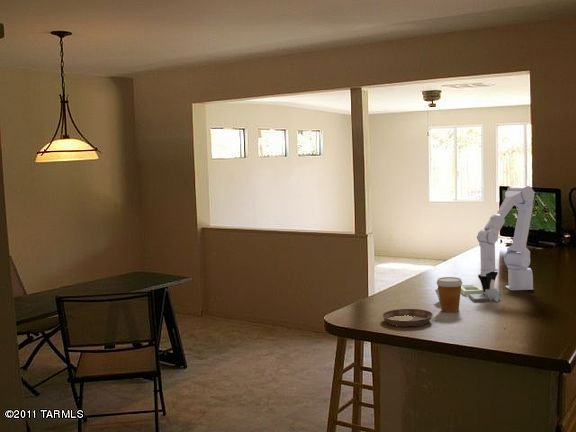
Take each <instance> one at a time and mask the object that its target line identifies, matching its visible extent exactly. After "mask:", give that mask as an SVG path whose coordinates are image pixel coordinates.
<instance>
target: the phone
mask: <svg viewBox="0 0 576 432" xmlns="http://www.w3.org/2000/svg"><path fill="white" fill-rule="evenodd" d="M468 298H469V299H470V300H471V301H472V302H473V301H474V302H473V303H489V302H490V299H489V298H488V297H487V296H486V295H484V294H468Z"/></svg>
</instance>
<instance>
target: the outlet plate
mask: <svg viewBox="0 0 576 432" xmlns="http://www.w3.org/2000/svg"><path fill="white" fill-rule="evenodd" d="M460 294H462V295H463V296H464V295H468V294H484V291H483V289H482V288H481V286H479V285H477V284H462V285H461V293H460Z"/></svg>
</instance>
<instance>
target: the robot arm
mask: <svg viewBox="0 0 576 432" xmlns="http://www.w3.org/2000/svg"><path fill="white" fill-rule="evenodd" d="M504 196H505V197H504V199H503V201H502V203H501V205H500V206H499V209H498V211H497V213H496V214H492V215H490V218H489V220H488V222H487V223H486V224H485V226H484V227H483V229H482V228H481V230H479V231H478V233H477V236H476V239H477V242H478V243H479V247H480V269H479V270H480V274H478V275H477V278H478V279H479V281H480V284H481V287H482V288H483V291H484V292H485V289H490V283H491V279H493V280H494V284H495V282H496V278H497V277H498V274H499V272H498V271H499V269H498V268H496V246H495V244H496V243H497V242H498V240H499V234H500V231H501V229H502V228H503V226H504V224H505V221H506V220H505V217H507V215H508V214H509V212H510V211H511V210H512V208H513V207H514V206H516V207H517V209H518V211H517V217H516V223H515V228H514V233H513V234H514V235H513V239H512V244H511V245H509V247H507V248H506V252H505V254H504V256H503V261H504V264H505V265H506V268H507V272H508V275H507V276H508V278H507V279H508V280H507V282H508V285H505V288H507V290H510V291H528V290H529V291H530V290H534V275H533V270H532V268H531V267H529V266H530V264H531V251H530V250H529V249H528V247H527V242H528V237H529V232H530V231H529V230H530V224H531V219H532V214H533V209H534V199H535V191H534V189H533V188H532V187H531V186H529V185H525V186H524V185H523V186H522V185H519V186H518V185H510V186H508V187H507V190H506V191H505V192H504ZM482 288H481V289H482Z"/></svg>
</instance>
